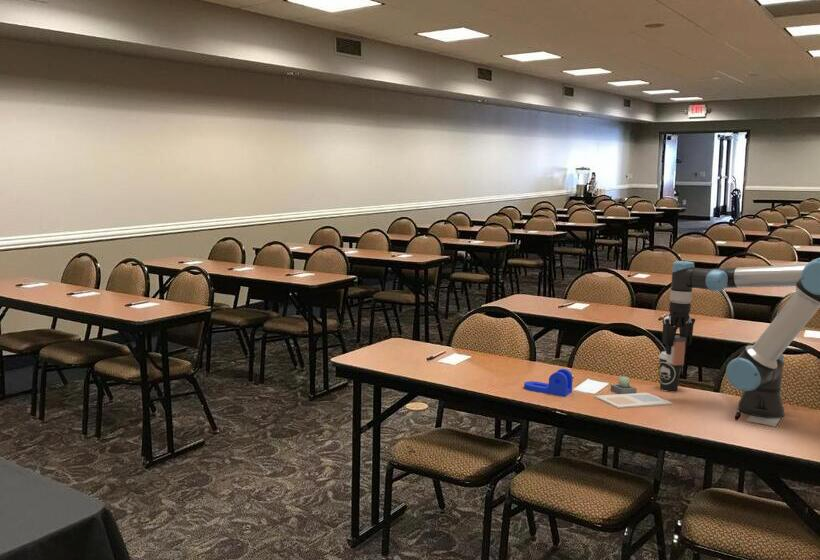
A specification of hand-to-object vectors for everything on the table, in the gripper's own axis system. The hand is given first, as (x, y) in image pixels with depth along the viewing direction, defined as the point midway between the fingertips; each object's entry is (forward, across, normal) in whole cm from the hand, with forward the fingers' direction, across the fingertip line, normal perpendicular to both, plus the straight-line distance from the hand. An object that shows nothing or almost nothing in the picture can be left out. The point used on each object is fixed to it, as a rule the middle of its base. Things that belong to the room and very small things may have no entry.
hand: (675, 362), depth 264 cm
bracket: (+15, +42, -22) cm, 50 cm away
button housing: (+15, +12, -14) cm, 24 cm away
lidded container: (+1, 0, 0) cm, 1 cm away
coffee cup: (+15, -10, -14) cm, 23 cm away
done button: (+13, +12, -14) cm, 22 cm away
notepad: (+15, +16, -2) cm, 22 cm away
